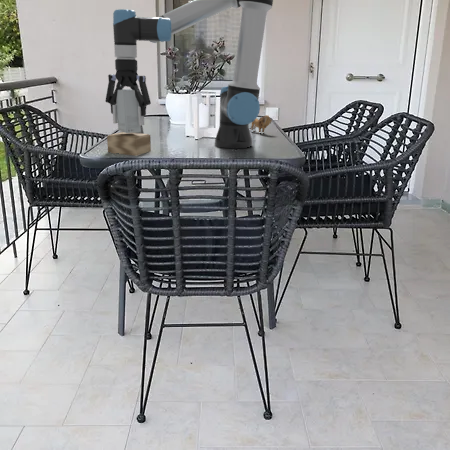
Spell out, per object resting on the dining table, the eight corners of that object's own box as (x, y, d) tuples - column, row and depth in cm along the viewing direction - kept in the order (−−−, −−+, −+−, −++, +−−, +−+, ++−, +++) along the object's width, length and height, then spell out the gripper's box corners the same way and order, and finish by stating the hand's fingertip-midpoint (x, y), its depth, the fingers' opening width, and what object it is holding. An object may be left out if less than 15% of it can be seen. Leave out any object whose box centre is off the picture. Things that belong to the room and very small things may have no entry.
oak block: (150, 151, 178) (150, 134, 176) (136, 155, 169) (136, 137, 167) (123, 148, 182) (122, 131, 180) (107, 152, 173) (107, 135, 171)
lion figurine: (272, 134, 225) (273, 115, 222) (264, 135, 222) (265, 116, 219) (251, 130, 236) (252, 112, 233) (243, 131, 232) (244, 112, 229)
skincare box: (141, 132, 171) (140, 90, 166) (125, 133, 168) (123, 90, 163) (132, 129, 178) (130, 88, 173) (116, 130, 175) (114, 88, 170)
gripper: (160, 59, 164) (161, 125, 172) (104, 57, 172) (108, 120, 179) (149, 59, 157) (150, 127, 165) (92, 57, 165) (96, 123, 172)
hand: (128, 124), depth 172 cm, fingers closed on skincare box, 10 cm apart
